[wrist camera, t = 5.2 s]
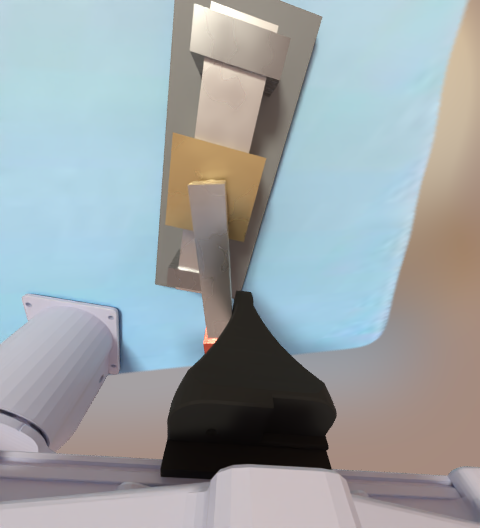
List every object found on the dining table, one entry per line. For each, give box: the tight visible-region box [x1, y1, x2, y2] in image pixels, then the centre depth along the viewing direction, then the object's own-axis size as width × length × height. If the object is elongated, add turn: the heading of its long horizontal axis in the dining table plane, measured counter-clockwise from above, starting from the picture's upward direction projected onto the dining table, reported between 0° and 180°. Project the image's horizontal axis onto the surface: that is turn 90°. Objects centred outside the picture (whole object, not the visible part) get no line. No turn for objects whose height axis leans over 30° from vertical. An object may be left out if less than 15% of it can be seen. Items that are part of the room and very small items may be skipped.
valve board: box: [155, 0, 322, 299], centre depth 14 cm, size 18×7×1 cm, turn 166°
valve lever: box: [188, 179, 233, 353], centre depth 12 cm, size 12×2×2 cm, turn 1°
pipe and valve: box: [165, 1, 291, 293], centre depth 12 cm, size 14×4×4 cm, turn 166°
